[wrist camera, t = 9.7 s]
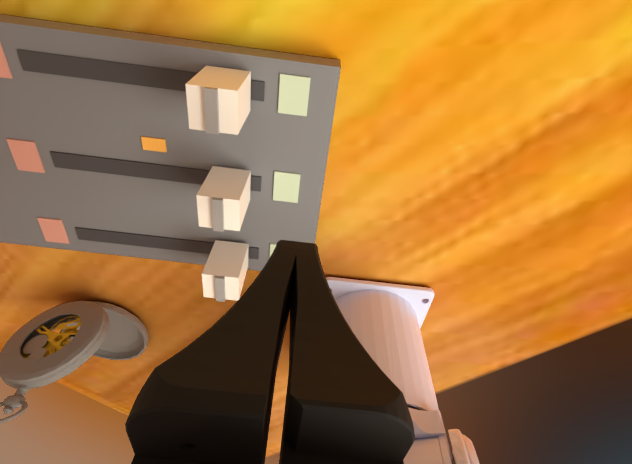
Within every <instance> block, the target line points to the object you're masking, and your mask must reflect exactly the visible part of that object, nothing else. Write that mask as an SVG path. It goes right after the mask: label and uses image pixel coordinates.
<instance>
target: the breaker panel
mask: <svg viewBox="0 0 632 464" xmlns="http://www.w3.org/2000/svg"><path fill="white" fill-rule="evenodd" d="M206 65H207V66H214V67H222V68H229V69H237V70H245V71H251V100H250V112H249V114H248V116H247V118H246V120H245V122H244V124H243V126H242V128H241V130H240V132H239V133H238V135H234V134H226V133H219V134H210V133H206V131H202V130H194V129H189V120H188V108H187V97H186V85H185V84H186V83H187V82H188V81H189V80H191V79H192V78H193V77H194V76H195V75H196V74H197V73H198V72H200V71H201V70H202V69H203V68H204V67H205V66H206ZM340 68H341V65H340V60H337V59H330V58H322V57H315V56H307V55H300V54H293V53H285V52H278V51H270V50H263V49H255V48H248V47H241V46H233V45H226V44H218V43H211V42H203V41H196V40H188V39H181V38H174V37H166V36H159V35H151V34H144V33H136V32H129V31H122V30H114V29H107V28H99V27H92V26H84V25H77V24H70V23H62V22H55V21H47V20H40V19H32V18H25V17H18V16H10V15H3V14H0V242H3V243H12V244H21V245H30V246H39V247H48V248H57V249H66V250H75V251H84V252H93V253H102V254H111V255H121V256H130V257H139V258H148V259H157V260H166V261H175V262H184V263H193V264H202V265H206V262H207V260H208V257H209V255H210V252H211V250H212V248H213V245H214V243H215V240H219V241H227V242H236V243H245V244H249V247H248V269H247V270H256V271H262V269H263V268H264V266H265V265H266V263H267V261H268V260H269V258H270V256H271V255H272V253H273V251H274V249H275V247H276V244H277V242H278V241H279V240H289V241H297V242H306V243H315V238H316V232H317V225H318V218H319V211H320V204H321V198H322V191H323V184H324V177H325V170H326V164H327V157H328V150H329V143H330V136H331V130H332V123H333V116H334V109H335V102H336V96H337V89H338V82H339V75H340ZM212 166H217V167H226V168H234V169H242V170H250V171H251V183H250V202H249V205H248V208H247V211H246V214H245V217H244V220H243V223H242V226H241V229H240V231H234V230H225V229H224V232H220V231H213V228H207V227H199V222H198V210H197V198H196V195H197V193H198V191H199V190H200V188H201V186H202V184H203V182H204V181H205V179H206V177H207V175H208V174H209V172H210V170H211V168H212Z"/></svg>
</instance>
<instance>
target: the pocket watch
mask: <svg viewBox="0 0 632 464" xmlns="http://www.w3.org/2000/svg"><path fill="white" fill-rule="evenodd" d="M54 329H62V330H61V332H63V333H61V332H60V333H59V334H57V333H54V332H52V331H53V330H54ZM55 338H56V339H55ZM148 339H149V336H148V332H147V329H146V327H145V326H144V324H143V323H142V322H141V321H140V320H139V319H138V318H137V317H136V316H135V315H133V314H131V313H130V312H128V311H127V310H125V309H123V308H121V307H118V306H115V305H113V304H109V303H104V302H93V301H74V302H68V303H65V304H62V305H59V306H56V307H54V308H51V309H49V310H47V311H45V312H43V313H41V314H40V315H38V316H36V317H35V318H33V319H32V320H30V321H29V322H28V323H26V324H25V325H24V326H22V327H21V328H20V329H19V330H18V331H17V332H15V334H14V335H13V336H12V337H11V338H10V339H9V340H8V341H7V343H6V344H5V346H4V347H3V349H2V351H1V353H0V376H1V378H2V379H3V381H4V382H5V383H6V384H7V385H9V386H11V387H13V388H16V389H17V391H16V393H15V395H12V396H9V397H7V398H6V399H5V400H4V401H3V402H1V403H0V407H1V406H3V405H4V406H5V408H4V409H3V411H4V413H5V414H9V413H12V412H13V408H18V407H20V406H22V409H21V410H20V411H18V412H17V413H16V414H13V415H11V416H9V417H6V418H4V419H0V423H3V422H6V421H8V420H11V419H14V418H16V417H17V416H19V415H21V414H22V413H23V412H25V410H26V409H27V406H28V404H27V402H25V398H24V397H23V396H24V394H25V393H26V392H27V391H28V389H31V388H37V387H42V386H45V385H47V384H50V383H52V382H55V381H57V380H59V379H61V378H63V377H65V376H66V375H68V374H70V373H72V372H73V371H75V370H76V369H77V368H78V367H80V366H81V365H82V364H83V363H85V362H86V361H87V360H88V359H90V357H91V356H92V355H94V356H97V357H101V358H106V359H110V360H127V359H132V358H135V357H137V356H139V355H140V354H142V353H143V351H144V350H145V349H146V347H147V344H148ZM54 340H56V341H54ZM67 341H68V342H69V343H68V342H67ZM62 342H63V343H62ZM66 342H67V343H66Z"/></svg>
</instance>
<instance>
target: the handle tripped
mask: <svg viewBox="0 0 632 464" xmlns="http://www.w3.org/2000/svg"><path fill="white" fill-rule="evenodd" d="M250 183H251V171H250V170H242V169H234V168H226V167H217V166H212V168H211V170H210V172H209V174H208V175H207V177H206V179H205V181H204V182H203V184H202V186H201V188H200V190H199V191H198V193H197V195H196V198H197V210H198V222H199V227H207V228H213V231H220V232H224V229H225V230H234V231H240V229H241V226H242V223H243V220H244V217H245V214H246V211H247V208H248V205H249V202H250Z"/></svg>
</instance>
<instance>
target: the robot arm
mask: <svg viewBox="0 0 632 464" xmlns="http://www.w3.org/2000/svg"><path fill="white" fill-rule="evenodd" d="M330 288H331V289H330ZM426 298H427V299H426ZM433 298H434V291H433V289H431V288H427V287H418V286H409V285H400V284H391V283H382V282H373V281H364V280H355V279H345V278H336V277H325V275H324V272H323V269H322V265H321V262H320V258H319V254H318V247H317V245H316V244H315V243H306V242H297V241H289V240H279V241H278V242H277V244H276V247H275V249H274V251H273V253H272V255H271V256H270V258H269V260H268V261H267V263H266V265H265V266H264V268H263V269H262V271H261V272H260V274H259V275H258V277H257V278H256V279H255V281H254V282H253V283H252V284H251V286H250V287H249V288H248V289H247V291H246V292H245V293H244V294H243V296H242V297H241V298H240V299H239V300H238V301H237V302H236V303H235V304H234V306H233V307H232V308H231V309H230V310H229V311H228V312H227V313H226V314H225V315H224V316H223V317H222V318H220V319H219V320H218V321H217V322H216V323H215V324H214V325H213V326H212V327H211V328H210V329H208V330H207V331H206V332H205V333H203V334H202V335H201V336H200V337H198V338H197V339H196V340H195V341H193V342H192V343H191V344H190V345H188V346H187V347H186V348H184V349H183V350H181V351H180V352H179V353H177V354H176V355H174V356H173V357H171V358H170V359H168V360H167V361H165V362H164V363H162V364H161V365H159V366H157V367H156V368H155V369H154V370H153V372H152V373H151V375H150V376H149V378H148V379H147V381H146V382H145V384H144V386H143V387H142V389H141V391H140V393H139V394H138V396H137V398H136V400H135V402H134V405H133V407H132V409H131V412H130V414H129V417H128V419H127V421H126V424H125V425H126V432H127V434H128V437H129V440H130V442H131V445H132V448H133V450H134V453H135V456H134V458H133V461H132V463H131V464H264V463H265V455H266V447H267V440H268V432H269V424H270V416H271V408H272V400H273V393H274V385H275V377H276V371H277V365H278V360H279V356H280V351H281V347H282V342H283V338H284V333H285V329H286V324H287V320H288V316H289V311H290V351H289V376H288V386H287V395H286V404H285V414H284V423H283V432H282V441H281V451H280V460H279V464H453V462H452V458H451V453H450V449H449V445H448V441H447V437H446V433H445V429H444V425H443V421H442V417H441V414H440V411H439V410H438V405H437V401H436V396H435V392H434V388H433V383H432V379H431V375H430V370H429V366H428V362H427V358H426V353H425V349H424V345H423V340H422V336H421V332H420V328H421V326H422V323H423V321H424V319H425V316H426V314H427V312H428V310H429V307H430V305H431V303H432V300H433ZM423 299H424V300H423ZM448 432H449V436H450V440H451V444H452V448H453V451H452V454H453V459H454V463H455V464H479V461H478V458H477V455H476V452H475V449H474V446H473V443H472V441H471V440H470V439H469V438H467V437H466V436H465V435H462V434H461V432H460V431H459V430H458V429H450V430H448Z"/></svg>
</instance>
